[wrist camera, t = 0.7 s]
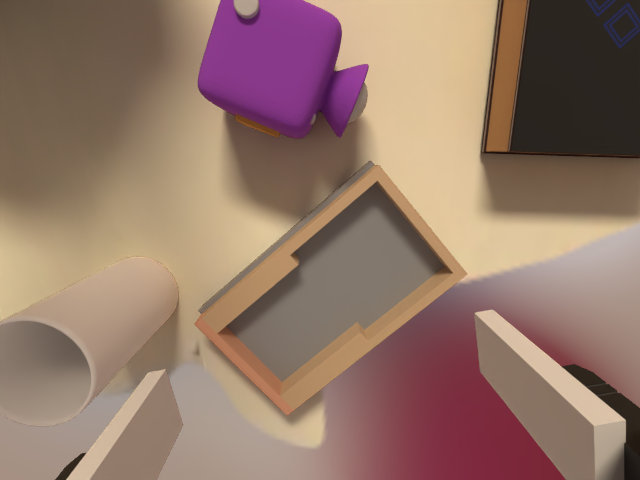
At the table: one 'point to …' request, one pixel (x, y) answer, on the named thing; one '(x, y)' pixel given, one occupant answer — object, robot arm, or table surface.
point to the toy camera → (280, 67)
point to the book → (565, 79)
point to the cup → (80, 340)
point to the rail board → (329, 289)
